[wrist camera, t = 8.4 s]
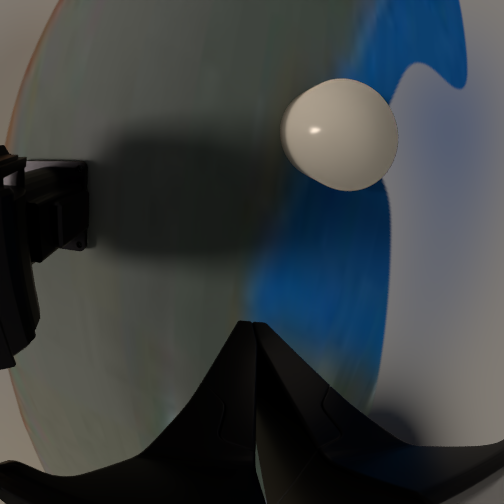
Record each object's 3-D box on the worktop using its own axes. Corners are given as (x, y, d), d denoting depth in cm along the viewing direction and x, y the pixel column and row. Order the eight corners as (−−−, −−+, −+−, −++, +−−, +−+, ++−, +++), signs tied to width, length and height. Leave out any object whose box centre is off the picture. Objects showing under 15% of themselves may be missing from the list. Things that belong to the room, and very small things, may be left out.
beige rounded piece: (272, 171, 19) (283, 179, 15) (287, 78, 17) (302, 65, 13) (359, 188, 20) (386, 200, 16) (375, 103, 18) (405, 98, 14)
